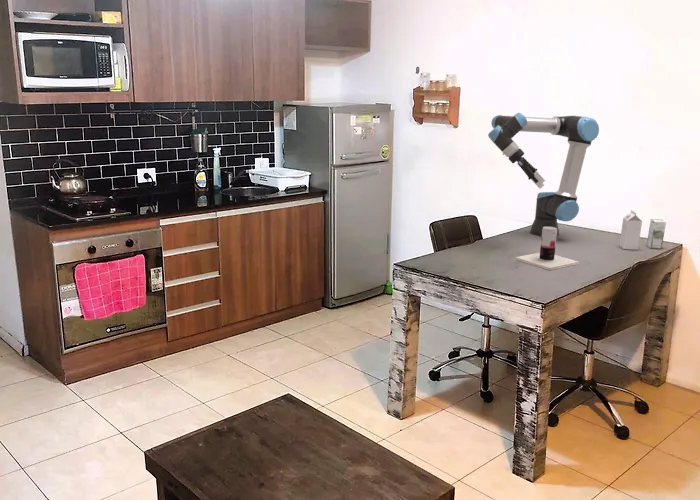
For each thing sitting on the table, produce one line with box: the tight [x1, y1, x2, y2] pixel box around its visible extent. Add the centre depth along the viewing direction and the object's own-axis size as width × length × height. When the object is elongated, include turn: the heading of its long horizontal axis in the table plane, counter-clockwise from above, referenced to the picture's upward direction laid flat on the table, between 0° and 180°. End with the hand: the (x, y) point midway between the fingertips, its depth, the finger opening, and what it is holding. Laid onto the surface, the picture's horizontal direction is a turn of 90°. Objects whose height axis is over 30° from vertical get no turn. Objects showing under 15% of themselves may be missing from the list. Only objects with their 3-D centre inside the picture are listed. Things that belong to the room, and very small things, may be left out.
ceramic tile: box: [515, 252, 579, 271], centre depth 301 cm, size 20×20×1 cm
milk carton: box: [619, 209, 643, 251], centre depth 326 cm, size 7×7×19 cm
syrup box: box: [646, 218, 667, 250], centre depth 329 cm, size 6×6×14 cm
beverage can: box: [539, 227, 558, 261], centre depth 299 cm, size 6×7×15 cm
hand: (542, 184), depth 318 cm, fingers open, 13 cm apart
